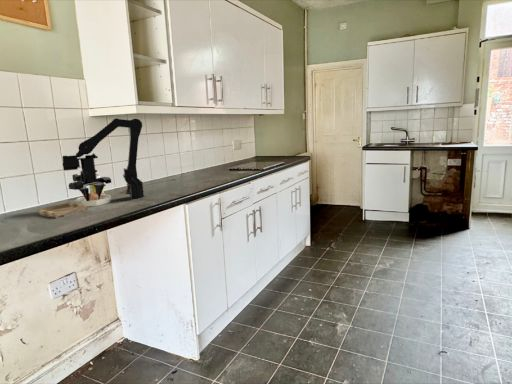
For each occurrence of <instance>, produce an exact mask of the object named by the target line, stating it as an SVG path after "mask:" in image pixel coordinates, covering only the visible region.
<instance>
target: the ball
mask: <svg viewBox="0 0 512 384" xmlns="http://www.w3.org/2000/svg"><path fill="white" fill-rule="evenodd" d="M93 200H98V195H97V193H95V192H91V193H90V192H89V201H93Z"/></svg>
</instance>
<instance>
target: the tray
mask: <svg viewBox="0 0 512 384" xmlns="http://www.w3.org/2000/svg"><path fill="white" fill-rule="evenodd" d="M85 210H88V207H87V206H86V205H80V204H75V203H74V202H66V203H62V204H58V205H54V206H48V207H45V208H39V209H37V212H38V213H37V214H38V215H39V216H42V217H47V218H52V219H58V218H62V217H65V216H66V215H69V214H72V213H77V212H81V211H85Z"/></svg>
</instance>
